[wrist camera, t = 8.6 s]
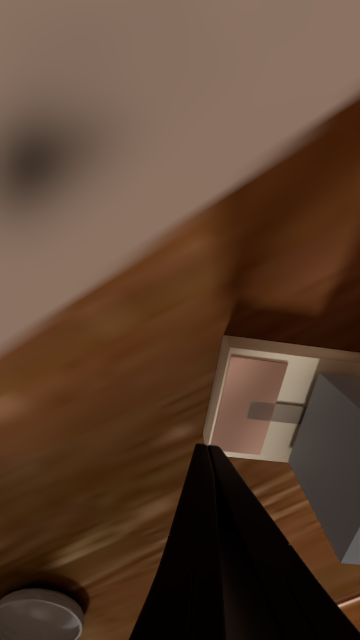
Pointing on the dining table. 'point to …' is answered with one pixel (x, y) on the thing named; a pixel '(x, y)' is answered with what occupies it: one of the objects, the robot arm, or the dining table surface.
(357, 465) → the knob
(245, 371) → the cream flat rectangular block
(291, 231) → the dining table surface
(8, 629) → the pocket watch
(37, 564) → the dining table surface
